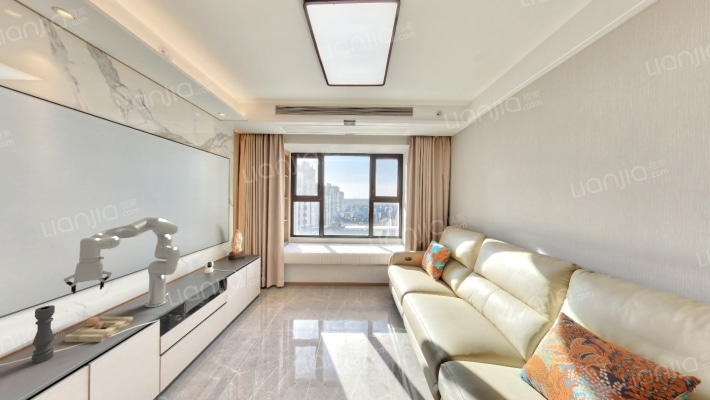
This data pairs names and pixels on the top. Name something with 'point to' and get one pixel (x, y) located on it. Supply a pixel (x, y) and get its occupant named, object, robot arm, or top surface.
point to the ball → (92, 321)
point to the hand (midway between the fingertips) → (88, 290)
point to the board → (99, 330)
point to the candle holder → (43, 334)
